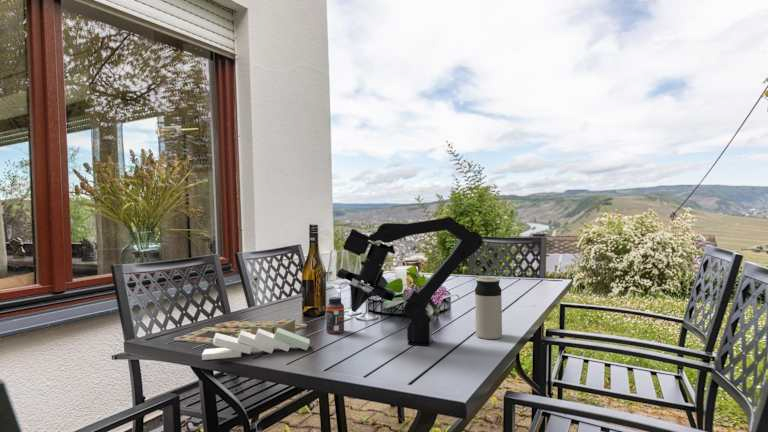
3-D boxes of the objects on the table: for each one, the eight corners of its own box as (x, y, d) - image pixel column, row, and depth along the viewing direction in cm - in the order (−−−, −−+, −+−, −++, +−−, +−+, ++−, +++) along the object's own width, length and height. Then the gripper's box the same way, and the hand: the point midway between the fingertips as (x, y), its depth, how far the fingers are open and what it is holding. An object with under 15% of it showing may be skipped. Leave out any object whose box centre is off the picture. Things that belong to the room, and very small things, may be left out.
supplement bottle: (341, 334, 144) (340, 299, 144) (323, 333, 145) (323, 299, 145) (346, 329, 150) (346, 296, 150) (329, 329, 151) (329, 295, 151)
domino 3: (274, 342, 130) (241, 330, 127) (274, 347, 125) (240, 334, 123) (271, 348, 130) (238, 336, 127) (271, 353, 125) (237, 341, 122)
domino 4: (290, 340, 131) (258, 328, 129) (290, 345, 126) (257, 331, 124) (287, 347, 131) (255, 334, 129) (287, 351, 126) (254, 338, 124)
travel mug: (497, 341, 133) (496, 281, 133) (471, 337, 138) (471, 279, 138) (505, 335, 140) (504, 277, 140) (481, 331, 144) (480, 276, 144)
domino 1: (242, 346, 127) (204, 349, 125) (240, 351, 123) (201, 354, 120) (242, 353, 127) (205, 356, 125) (240, 358, 123) (202, 361, 120)
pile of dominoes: (311, 327, 156) (310, 311, 156) (271, 350, 130) (270, 331, 130) (224, 322, 165) (224, 307, 165) (171, 342, 139) (171, 325, 139)
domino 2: (250, 341, 128) (215, 332, 124) (252, 347, 123) (216, 338, 119) (248, 348, 127) (213, 339, 124) (249, 354, 123) (213, 345, 119)
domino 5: (309, 339, 132) (277, 327, 131) (309, 343, 127) (276, 331, 126) (306, 345, 132) (275, 333, 130) (306, 350, 127) (273, 338, 126)
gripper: (411, 278, 134) (391, 327, 133) (365, 258, 145) (346, 303, 144) (393, 270, 125) (371, 322, 124) (345, 250, 136) (325, 298, 135)
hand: (353, 311), depth 132 cm, fingers closed
